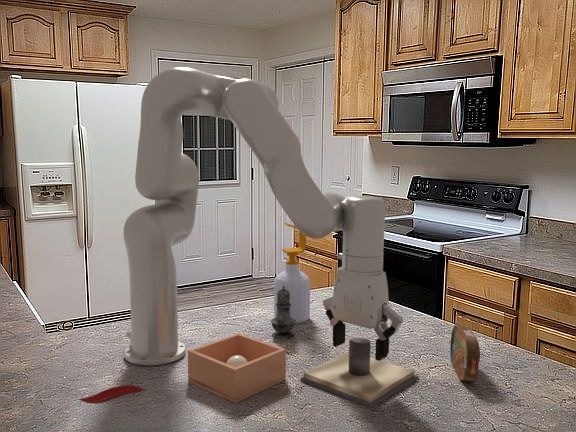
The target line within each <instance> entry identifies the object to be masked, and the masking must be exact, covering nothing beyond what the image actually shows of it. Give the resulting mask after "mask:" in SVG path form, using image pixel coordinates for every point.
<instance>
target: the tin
mask: <svg viewBox="0 0 576 432" xmlns="http://www.w3.org/2000/svg"><path fill="white" fill-rule="evenodd" d="M449 354H450V362H451V365H452V367H453V369H454V372H455V373H456V376H457V379H459V381H465V382H474V381H475V382H476V380H477V378H478V375H479V373H478V372H479V365H480V359H481V349H480V342H479V341H478V339H477V337H476V336H475V335H474V332H473V331H472V330H471V329H470V327H468V326H466V325H458V324H455V325H454V326H453V328H452V332H451V336H450V351H449Z"/></svg>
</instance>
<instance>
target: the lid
mask: <svg viewBox="0 0 576 432" xmlns="http://www.w3.org/2000/svg"><path fill="white" fill-rule="evenodd" d="M371 344H372V342H371V340H370V339H367V338H365V337H353V338H350V339H349V341H348V351H347V352H345V353H342V354H340V355H338V356H336V357H334V358H331V359H329V360H328V361H326V362H323V363H321V364H319V365H317V366H314V367H313V368H310V369H309V370H306V371H304V372H303V376H304V378H306V379H308V380H311V381H314V382H316V383H319V384H322V385H324V386H327V387H330V388H332V389H335V390H338V391H340V392H343V393H346V394H348V395H351V396H354V397H356V398H359V399H362V400H364V401H367V402H370V403H371V402H372V401H374V400H376V399H377V398H379V397H380V396H382V395H384V394H385V393H387V392H388V391H390V390H392V389H393V388H395V387H397V386H398V385H400V384H401V383H403V382H405V381H406V380H408V379H409V378H411V377H413V376H414V375H415V371H414V369H409V368H406V367H402V366H399V365H396V364H394V363H390V362H387V361H384V360H380V361H378V360H376V359H375V357H374V358H373V357H371Z"/></svg>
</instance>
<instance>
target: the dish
mask: <svg viewBox="0 0 576 432" xmlns="http://www.w3.org/2000/svg"><path fill="white" fill-rule="evenodd" d="M286 352H287V348H283V347H280V346H277V345H275V344H271V343H268V342H265V341H262V340H260V339H257V338H253V337H251V336H247V335H245V334H242V333H239V332H238V333H234V334H233V335H230V336H226V337H223V338H221V339H218V340H215V341H211V342H209V343H206V344H203V345H200V346H198V347H195V348H194V347H193V348H192V349H189V350H187V375H188V376H187V380H188V382H189V383H192V384H194V385H195V386H197V387H200V388H202V389H204V390H206V391H209V392H211V393H213V394H215V395H217V396H219V397H222V398H223V399H224V398H225V399H226V400H228V401H230V402H232V403H238V402H241V401H243V400H245V399H247V398H249V397H251V396H253V395H255V394H257V393H259V392H262V391H265V390H266V389H269V388H271V387H273V386H275V385H277V384H279V383H281V382H284V381H286V380H287V379H286V377H287V376H286V375H287V373H286V369H287V365H286V364H287V361H286V360H287V353H286Z"/></svg>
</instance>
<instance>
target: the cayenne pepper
mask: <svg viewBox="0 0 576 432" xmlns="http://www.w3.org/2000/svg"><path fill="white" fill-rule="evenodd" d="M142 391H146V389H144V388H142V387H141V386H138V385H131V384H129V385H128V384H126V385H120V386H119V385H118V386H113V387H109V388H108V389H103V390H102V391H100V392H98V393H96V394H93V395H90V396H87V397H81V398H79V399H78V400H80V401H84V402H85V403H89V404H92V403H93V404H96V403H97V404H98V403H104V402H108V401H110V400H113V399H115V398H118V397H122V396H126V395H129V394H134V393H141V392H142Z"/></svg>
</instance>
